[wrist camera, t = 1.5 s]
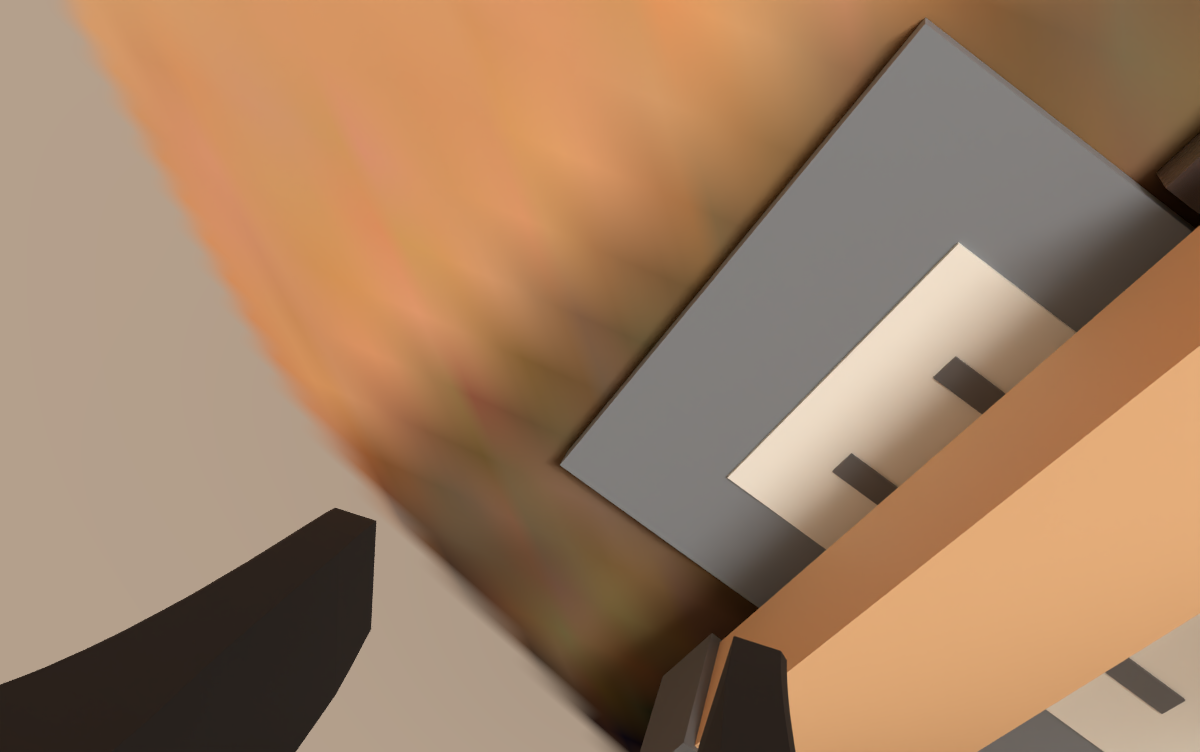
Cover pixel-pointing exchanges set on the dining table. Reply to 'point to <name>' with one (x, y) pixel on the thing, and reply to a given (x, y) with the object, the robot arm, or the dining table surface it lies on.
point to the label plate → (891, 350)
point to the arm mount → (1184, 174)
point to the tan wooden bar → (999, 553)
